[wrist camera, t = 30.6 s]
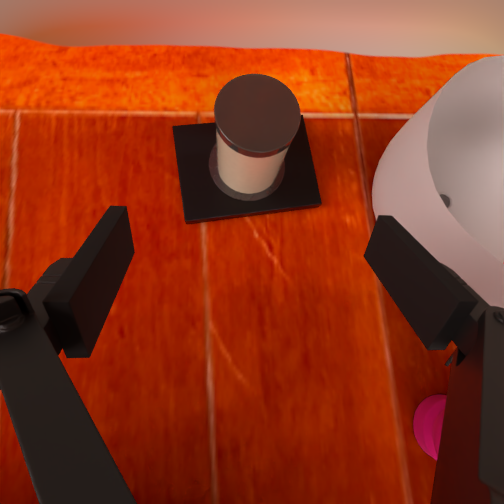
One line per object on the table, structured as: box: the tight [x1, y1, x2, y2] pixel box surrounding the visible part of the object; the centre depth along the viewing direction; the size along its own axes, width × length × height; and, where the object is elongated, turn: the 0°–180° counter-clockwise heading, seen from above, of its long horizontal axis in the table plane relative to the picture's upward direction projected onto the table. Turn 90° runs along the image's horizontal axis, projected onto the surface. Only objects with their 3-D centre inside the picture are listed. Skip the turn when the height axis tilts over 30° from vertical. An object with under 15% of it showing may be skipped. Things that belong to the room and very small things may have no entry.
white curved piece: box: [372, 55, 504, 308], centre depth 29 cm, size 20×19×12 cm
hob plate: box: [173, 115, 322, 224], centre depth 33 cm, size 15×11×1 cm
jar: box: [214, 74, 301, 194], centre depth 28 cm, size 7×7×9 cm
